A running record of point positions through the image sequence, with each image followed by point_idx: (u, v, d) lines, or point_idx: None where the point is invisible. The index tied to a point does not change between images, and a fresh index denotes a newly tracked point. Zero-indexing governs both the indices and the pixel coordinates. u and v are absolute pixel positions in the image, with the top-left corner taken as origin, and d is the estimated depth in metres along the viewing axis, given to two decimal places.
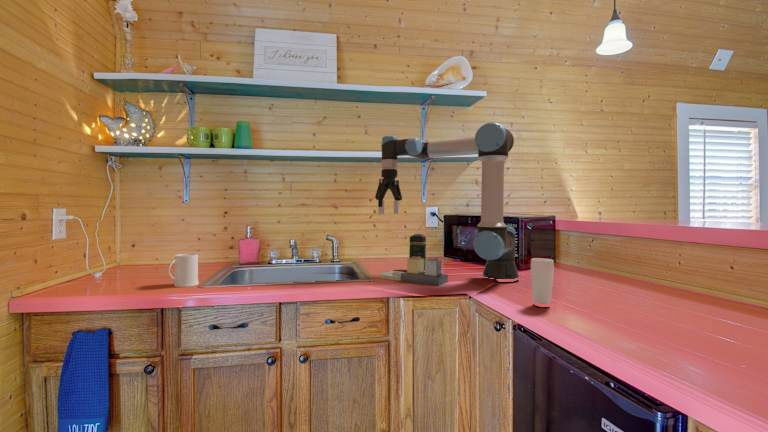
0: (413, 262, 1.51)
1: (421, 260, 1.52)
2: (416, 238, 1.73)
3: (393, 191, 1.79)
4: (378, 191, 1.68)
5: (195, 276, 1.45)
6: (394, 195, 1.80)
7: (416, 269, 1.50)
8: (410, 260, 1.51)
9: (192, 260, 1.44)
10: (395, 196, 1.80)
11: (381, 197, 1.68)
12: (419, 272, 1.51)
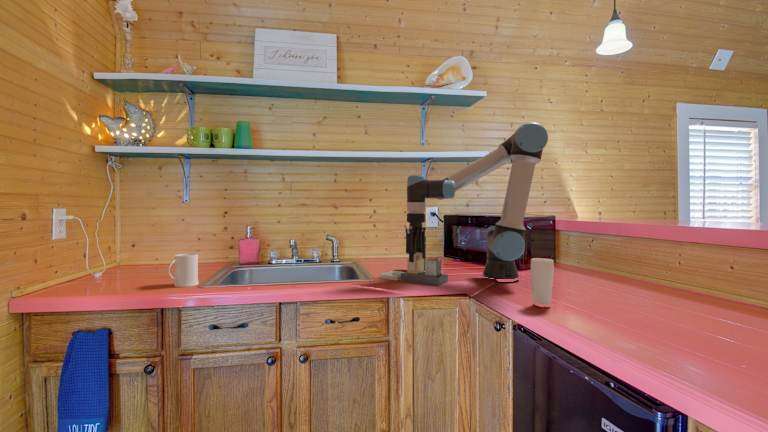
0: None
1: (421, 260, 1.52)
2: None
3: (417, 239, 1.54)
4: (408, 245, 1.48)
5: (195, 276, 1.45)
6: (418, 245, 1.55)
7: (416, 269, 1.50)
8: None
9: (192, 260, 1.44)
10: (418, 246, 1.55)
11: (412, 252, 1.49)
12: (419, 272, 1.51)
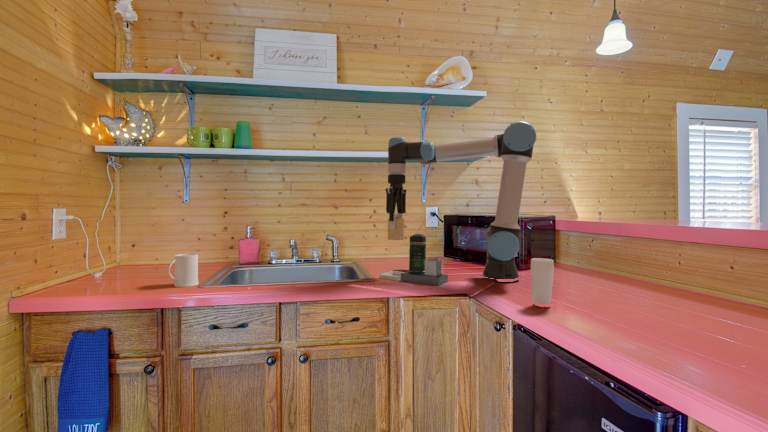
0: None
1: (401, 220, 1.58)
2: (416, 238, 1.73)
3: (398, 200, 1.60)
4: (388, 204, 1.54)
5: (195, 276, 1.45)
6: (398, 206, 1.61)
7: (396, 228, 1.56)
8: None
9: (192, 260, 1.44)
10: (399, 207, 1.61)
11: (392, 211, 1.55)
12: (399, 231, 1.56)
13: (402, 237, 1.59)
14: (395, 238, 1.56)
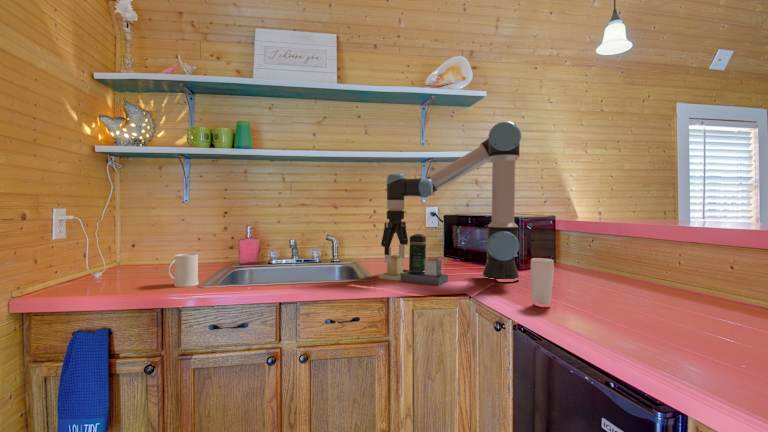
0: (392, 261, 1.57)
1: (400, 259, 1.59)
2: (416, 238, 1.73)
3: (399, 234, 1.62)
4: (384, 238, 1.52)
5: (195, 276, 1.45)
6: (400, 238, 1.63)
7: (395, 267, 1.57)
8: None
9: (192, 260, 1.44)
10: (401, 239, 1.64)
11: (388, 244, 1.53)
12: (398, 270, 1.57)
13: None
14: None
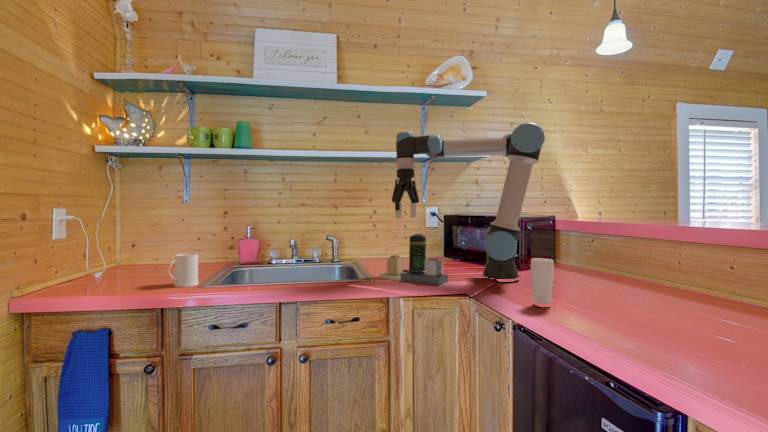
0: (392, 261, 1.57)
1: (400, 259, 1.59)
2: (416, 238, 1.73)
3: (410, 193, 1.63)
4: (395, 193, 1.52)
5: (195, 276, 1.45)
6: (411, 197, 1.64)
7: (395, 267, 1.57)
8: (390, 259, 1.58)
9: (192, 260, 1.44)
10: (412, 198, 1.65)
11: (398, 200, 1.52)
12: (398, 270, 1.57)
13: None
14: None
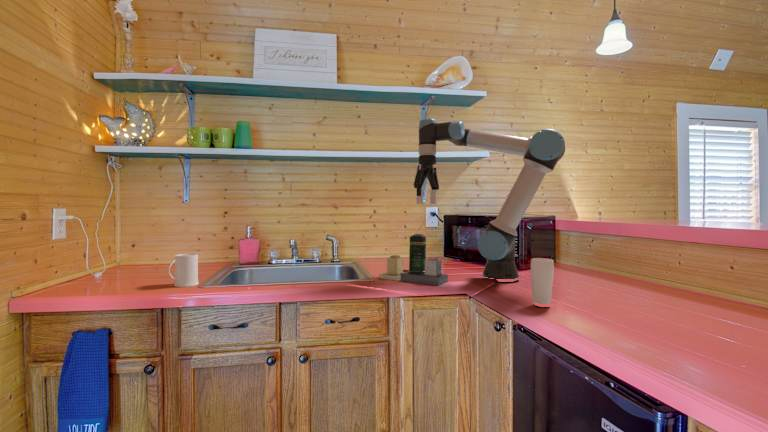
0: (392, 261, 1.57)
1: (400, 259, 1.59)
2: (416, 238, 1.73)
3: (430, 179, 1.65)
4: (417, 178, 1.54)
5: (195, 276, 1.45)
6: (432, 184, 1.66)
7: (395, 267, 1.57)
8: (390, 259, 1.58)
9: (192, 260, 1.44)
10: (432, 185, 1.67)
11: (420, 185, 1.54)
12: (398, 270, 1.57)
13: None
14: None
